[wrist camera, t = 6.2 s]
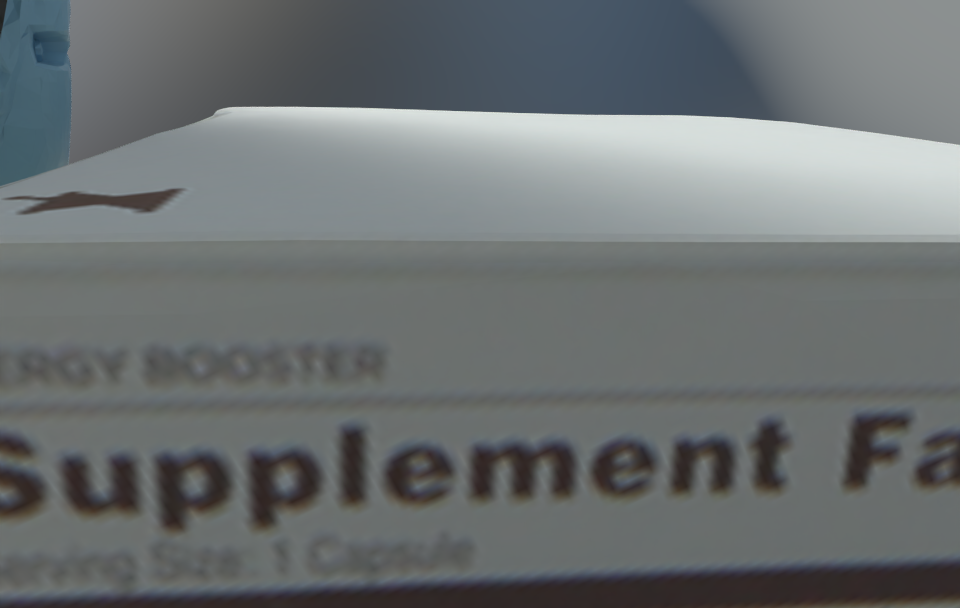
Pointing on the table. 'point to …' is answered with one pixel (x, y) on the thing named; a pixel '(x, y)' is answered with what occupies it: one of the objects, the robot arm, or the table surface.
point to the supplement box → (483, 366)
